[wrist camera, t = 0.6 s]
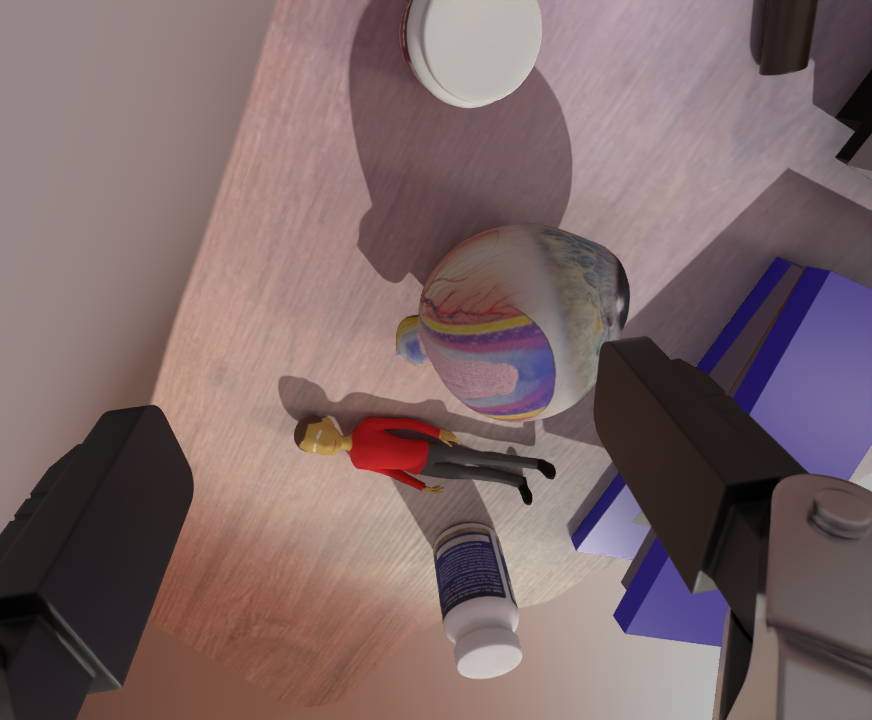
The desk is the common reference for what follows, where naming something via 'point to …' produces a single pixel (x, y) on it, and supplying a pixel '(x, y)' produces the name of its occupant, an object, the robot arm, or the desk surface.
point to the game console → (859, 129)
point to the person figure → (413, 453)
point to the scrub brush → (787, 36)
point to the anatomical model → (518, 320)
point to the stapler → (774, 411)
